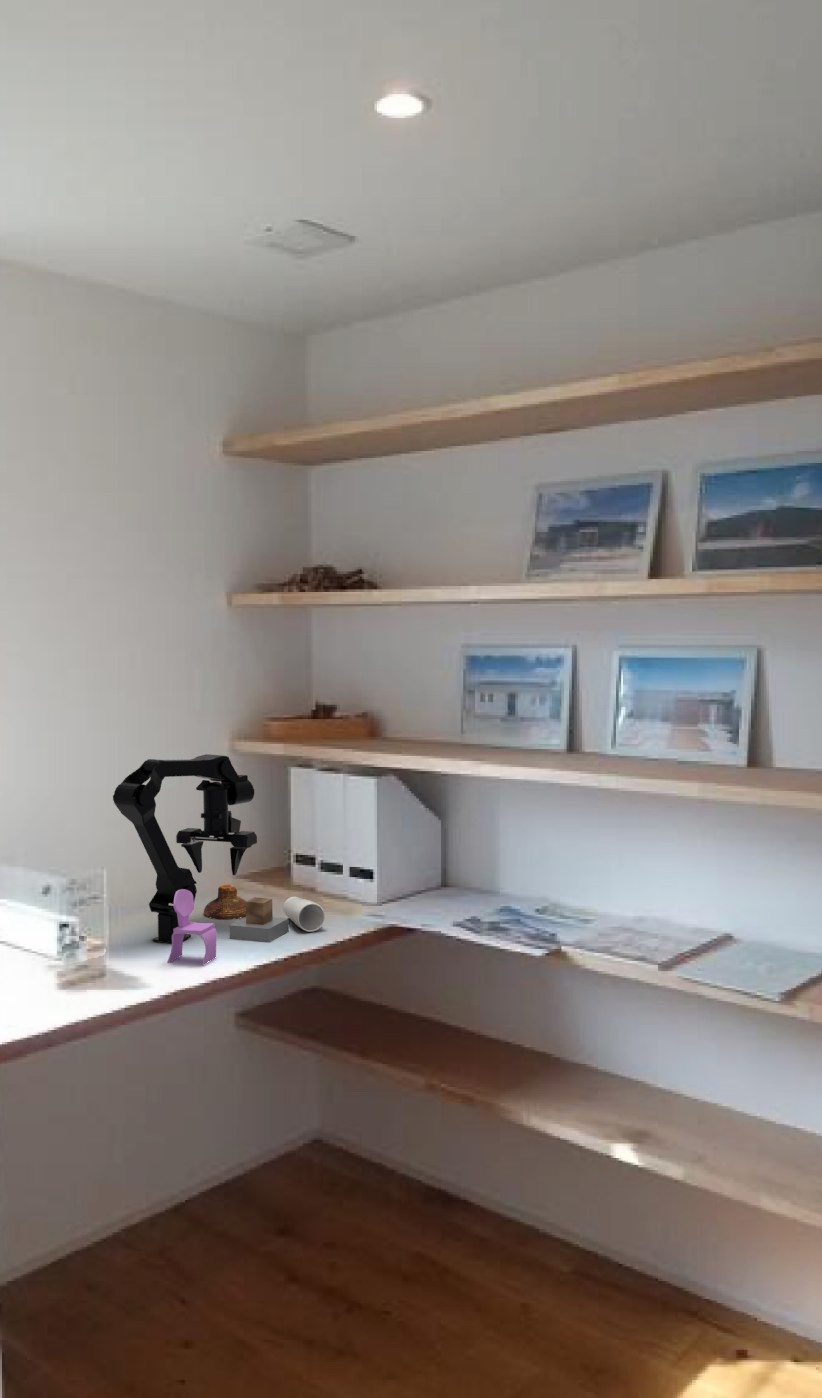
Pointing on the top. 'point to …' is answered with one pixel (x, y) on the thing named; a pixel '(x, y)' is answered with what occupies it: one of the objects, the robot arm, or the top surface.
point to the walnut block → (259, 911)
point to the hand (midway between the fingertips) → (217, 873)
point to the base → (259, 930)
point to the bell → (226, 904)
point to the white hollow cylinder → (304, 913)
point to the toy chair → (190, 927)
